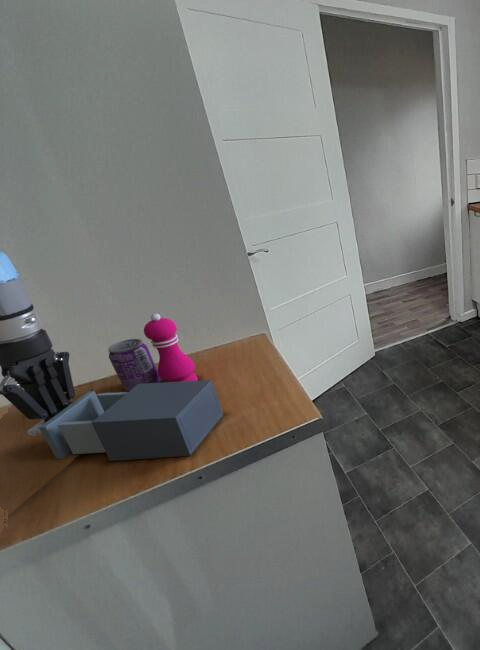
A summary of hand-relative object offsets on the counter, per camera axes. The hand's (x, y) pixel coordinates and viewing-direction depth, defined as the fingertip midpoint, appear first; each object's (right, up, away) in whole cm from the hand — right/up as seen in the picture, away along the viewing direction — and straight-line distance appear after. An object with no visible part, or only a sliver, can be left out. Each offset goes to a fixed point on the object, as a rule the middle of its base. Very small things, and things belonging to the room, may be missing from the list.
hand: (68, 436), depth 84 cm
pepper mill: (+7, +7, +20) cm, 22 cm away
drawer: (+6, 0, +1) cm, 6 cm away
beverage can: (-2, +6, +19) cm, 20 cm away
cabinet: (+19, -1, +3) cm, 19 cm away
